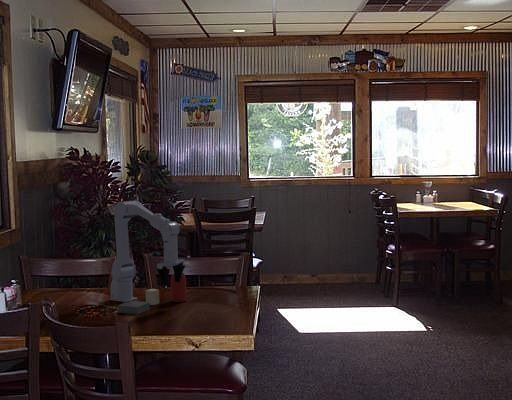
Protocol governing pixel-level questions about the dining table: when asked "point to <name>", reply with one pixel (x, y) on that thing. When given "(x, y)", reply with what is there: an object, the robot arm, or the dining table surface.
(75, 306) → the dining table surface
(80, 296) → the dining table surface
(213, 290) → the dining table surface
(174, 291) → the beer can
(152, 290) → the cream block
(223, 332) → the dining table surface
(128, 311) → the plate
